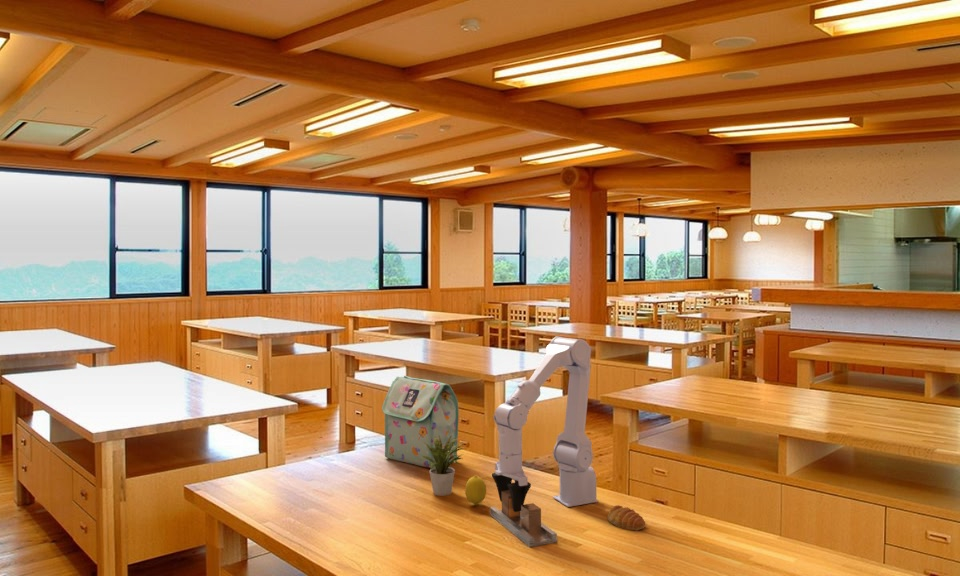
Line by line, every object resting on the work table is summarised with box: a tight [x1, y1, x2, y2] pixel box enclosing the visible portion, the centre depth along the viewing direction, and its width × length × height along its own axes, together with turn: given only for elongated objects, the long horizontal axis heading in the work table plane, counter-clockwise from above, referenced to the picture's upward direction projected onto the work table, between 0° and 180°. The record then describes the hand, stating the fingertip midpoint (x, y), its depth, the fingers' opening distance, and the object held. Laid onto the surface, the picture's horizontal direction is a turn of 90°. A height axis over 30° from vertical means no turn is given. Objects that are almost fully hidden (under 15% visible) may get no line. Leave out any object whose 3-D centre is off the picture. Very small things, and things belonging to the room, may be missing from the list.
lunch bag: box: [381, 375, 460, 469], centre depth 227 cm, size 23×16×27 cm
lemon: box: [464, 475, 487, 506], centre depth 185 cm, size 6×6×8 cm
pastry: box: [607, 505, 646, 531], centre depth 171 cm, size 9×7×4 cm
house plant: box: [421, 435, 469, 497], centre depth 194 cm, size 14×14×16 cm
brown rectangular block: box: [501, 490, 520, 519], centre depth 175 cm, size 3×4×6 cm
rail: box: [489, 502, 558, 548], centre depth 169 cm, size 7×22×7 cm, turn 23°
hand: (511, 505), depth 175 cm, fingers open, 7 cm apart
